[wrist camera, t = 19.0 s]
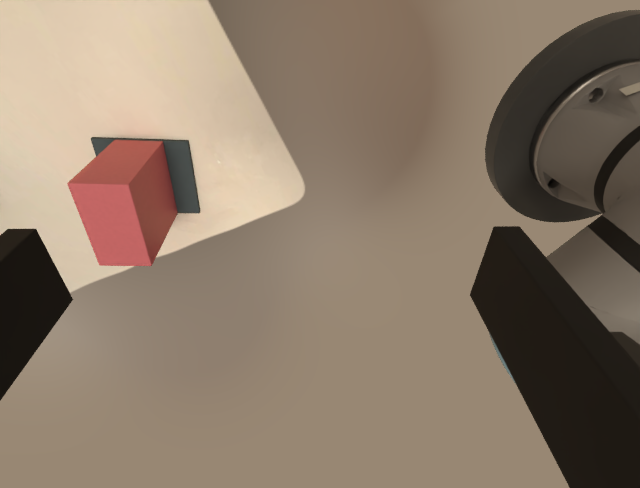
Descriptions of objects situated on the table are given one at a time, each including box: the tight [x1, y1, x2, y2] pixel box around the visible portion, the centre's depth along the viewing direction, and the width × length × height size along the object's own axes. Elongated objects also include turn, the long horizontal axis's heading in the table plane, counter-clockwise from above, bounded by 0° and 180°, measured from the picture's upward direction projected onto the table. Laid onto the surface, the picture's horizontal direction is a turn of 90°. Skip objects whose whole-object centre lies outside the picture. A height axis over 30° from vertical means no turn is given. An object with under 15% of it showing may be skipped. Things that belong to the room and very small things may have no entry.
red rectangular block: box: [68, 140, 178, 266], centre depth 38 cm, size 5×9×10 cm, turn 177°
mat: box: [91, 137, 200, 213], centre depth 42 cm, size 10×9×1 cm
